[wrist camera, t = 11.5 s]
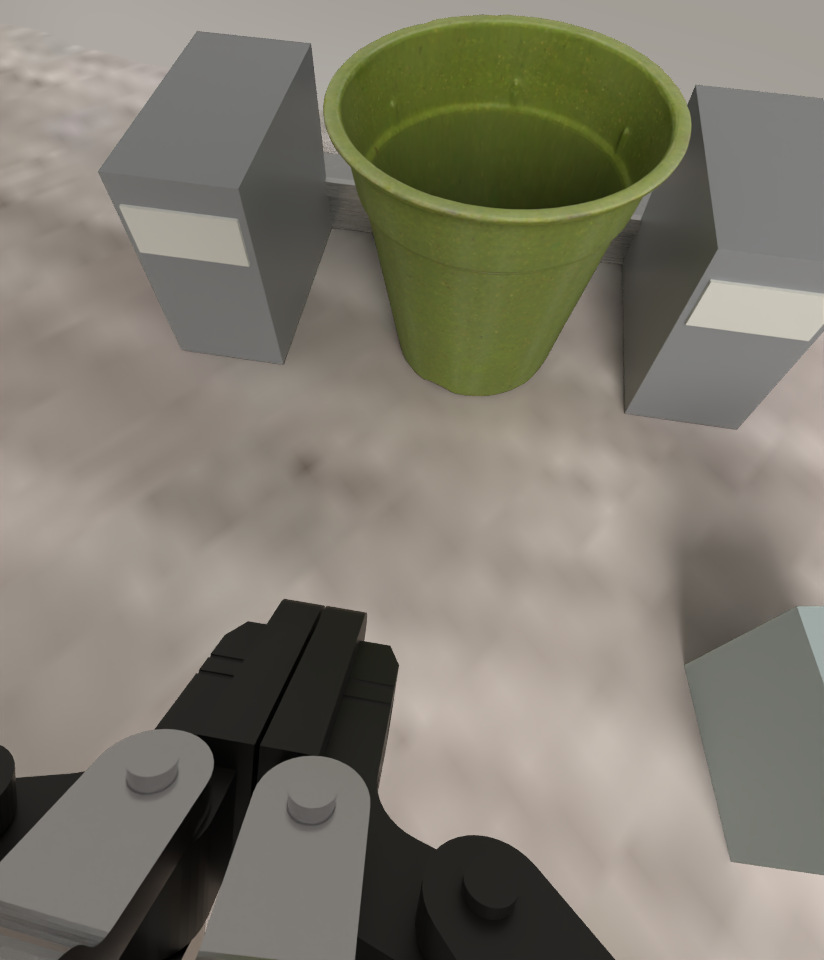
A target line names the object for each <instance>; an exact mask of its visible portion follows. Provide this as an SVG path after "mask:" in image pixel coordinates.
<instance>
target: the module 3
mask: <svg viewBox="0 0 824 960" xmlns="http://www.w3.org/2000/svg"><path fill="white" fill-rule="evenodd" d="M684 667H685V671H686V675H687V679H688V684H689V688H690V692H691V696H692V700H693V705H694V709H695V713H696V717H697V721H698V726H699V730H700V734H701V738H702V743H703V747H704V751H705V755H706V759H707V764H708V768H709V772H710V776H711V780H712V785H713V789H714V793H715V797H716V801H717V806H718V810H719V814H720V818H721V822H722V827H723V831H724V835H725V839H726V843H727V848H728V852H729V856H730V860H731V862H736V863H743V864H750V865H756V866H763V867H770V868H777V869H784V870H791V871H798V872H805V873H812V874H819V875H824V606H797V607H795V608H793V609H791V610H789V611H787V612H785V613H783V614H781V615H779V616H777V617H775V618H774V619H772V620H770V621H768V622H766V623H764V624H762V625H760V626H758V627H756V628H754V629H752V630H751V631H749V632H747V633H745V634H743V635H741V636H739V637H737V638H735V639H733V640H731V641H729V642H728V643H726V644H724V645H722V646H720V647H718V648H716V649H714V650H712V651H710V652H708V653H706V654H705V655H703V656H701V657H699V658H697V659H695V660H693V661H691V662H689V663H687V664H685V665H684Z"/></svg>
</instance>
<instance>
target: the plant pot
mask: <svg viewBox="0 0 824 960" xmlns="http://www.w3.org/2000/svg"><path fill="white" fill-rule="evenodd" d="M323 114H324V121H325V126H326V130H327V132H328V134H329V137H330V139H331V141H332V143H333V145H334V147H335V149H336V150H337V151H338V153H339V154H340V155H341V157H342V158H343V159H344V160H345V162H346V163H347V164H348V165H349V166H350V167H351V171H352V175H353V178H354V182H355V186H356V190H357V193H358V196H359V199H360V201H361V204H362V206H363V208H364V210H365V211H366V213H367V214H368V216H369V220H370V224H371V228H372V232H373V236H374V239H375V244H376V248H377V252H378V256H379V260H380V264H381V268H382V272H383V276H384V280H385V284H386V288H387V293H388V297H389V301H390V305H391V309H392V313H393V317H394V321H395V325H396V329H397V333H398V337H399V341H400V345H401V349H402V352H403V354H404V356H405V358H406V360H407V362H408V363H409V365H410V366H411V367H412V368H413V370H414V371H415V372H416V373H417V374H418V375H420V376H421V377H422V378H423V379H426V380H429V381H432V382H434V383H436V384H438V385H440V386H442V387H444V388H446V389H448V390H449V391H451V392H453V393H456V394H462V395H469V396H488V395H495V394H499V393H503V392H506V391H509V390H512V389H514V388H516V387H518V386H520V385H522V384H524V383H525V382H526V381H528V380H529V379H530V378H531V377H532V376H533V375H534V374H535V373H536V372H537V370H538V369H539V368H540V367H541V365H542V364H543V363H544V361H545V360H546V358H547V356H548V354H549V352H550V351H551V349H552V347H553V345H554V343H555V341H556V340H557V338H558V336H559V334H560V332H561V331H562V329H563V327H564V325H565V323H566V322H567V320H568V318H569V316H570V314H571V313H572V311H573V309H574V307H575V306H576V304H577V302H578V300H579V298H580V297H581V295H582V293H583V291H584V289H585V288H586V286H587V284H588V282H589V281H590V279H591V277H592V275H593V273H594V272H595V270H596V268H597V266H598V265H599V263H600V261H601V259H602V257H603V256H604V254H605V252H606V250H607V248H608V247H609V245H610V243H611V241H612V240H613V239H614V238H616V237H617V236H618V234H619V233H620V232H621V231H622V230H623V229H624V228H625V226H626V225H627V223H628V222H629V220H630V219H631V217H632V215H633V214H634V212H635V210H636V208H637V207H638V205H639V203H640V202H641V200H642V198H643V197H644V196H646V195H647V194H649V193H650V192H652V191H653V190H654V189H656V188H657V187H658V186H660V185H661V184H662V183H663V182H664V181H665V180H666V179H667V178H668V177H669V176H670V175H671V174H672V173H673V172H674V170H675V169H676V168H677V167H678V165H679V163H680V162H681V160H682V158H683V157H684V155H685V153H686V151H687V148H688V144H689V140H690V136H691V116H690V111H689V109H688V106H687V103H686V101H685V99H684V97H683V95H682V93H681V92H680V90H679V88H678V87H677V86H676V85H675V84H674V83H673V81H672V80H671V78H670V77H669V76H668V75H667V74H666V73H665V72H664V71H663V70H662V69H661V68H660V67H659V66H658V65H657V64H655V63H654V62H652V61H651V60H650V59H649V58H647V57H646V56H645V55H643V54H641V53H639V52H638V51H636V50H634V49H633V48H632V47H630V46H628V45H626V44H624V43H622V42H620V41H618V40H615V39H613V38H611V37H608V36H606V35H603V34H601V33H598V32H595V31H592V30H589V29H586V28H582V27H579V26H575V25H572V24H568V23H564V22H559V21H554V20H548V19H542V18H535V17H525V16H513V15H498V16H492V15H473V16H460V17H449V18H444V19H436V20H433V21H431V22H428V23H426V24H420V25H415V26H411V27H408V28H403V29H400V30H398V31H395V32H393V33H390V34H388V35H385V36H383V37H381V38H380V39H378V40H376V41H374V42H372V43H370V44H368V45H367V46H365V47H363V48H361V49H360V50H358V51H357V52H356V53H355V54H353V55H352V56H351V57H350V58H349V59H348V60H347V61H346V62H345V63H344V64H343V65H342V66H341V68H340V69H338V70H337V72H336V73H335V75H334V76H333V78H332V79H331V82H330V83H329V86H328V88H327V91H326V94H325V98H324V105H323Z"/></svg>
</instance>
